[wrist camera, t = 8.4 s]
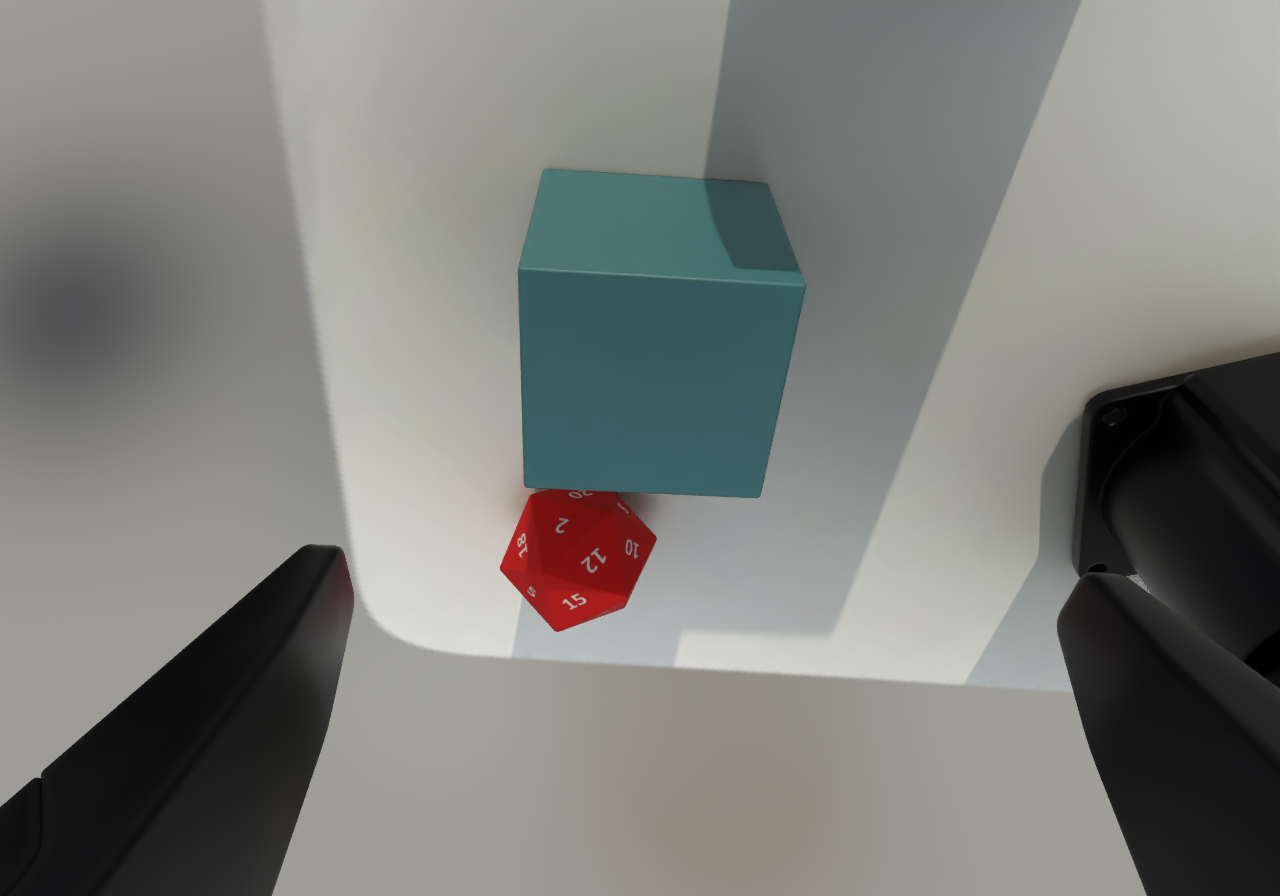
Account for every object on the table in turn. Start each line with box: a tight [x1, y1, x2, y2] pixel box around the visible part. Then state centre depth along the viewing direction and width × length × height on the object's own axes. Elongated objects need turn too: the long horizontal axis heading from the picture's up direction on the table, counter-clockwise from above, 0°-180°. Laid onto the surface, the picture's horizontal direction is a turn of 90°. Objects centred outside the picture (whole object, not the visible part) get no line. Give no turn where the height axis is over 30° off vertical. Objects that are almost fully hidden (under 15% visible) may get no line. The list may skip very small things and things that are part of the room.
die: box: [500, 489, 657, 632], centre depth 20 cm, size 4×4×4 cm
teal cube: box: [518, 169, 806, 498], centre depth 15 cm, size 4×4×4 cm
